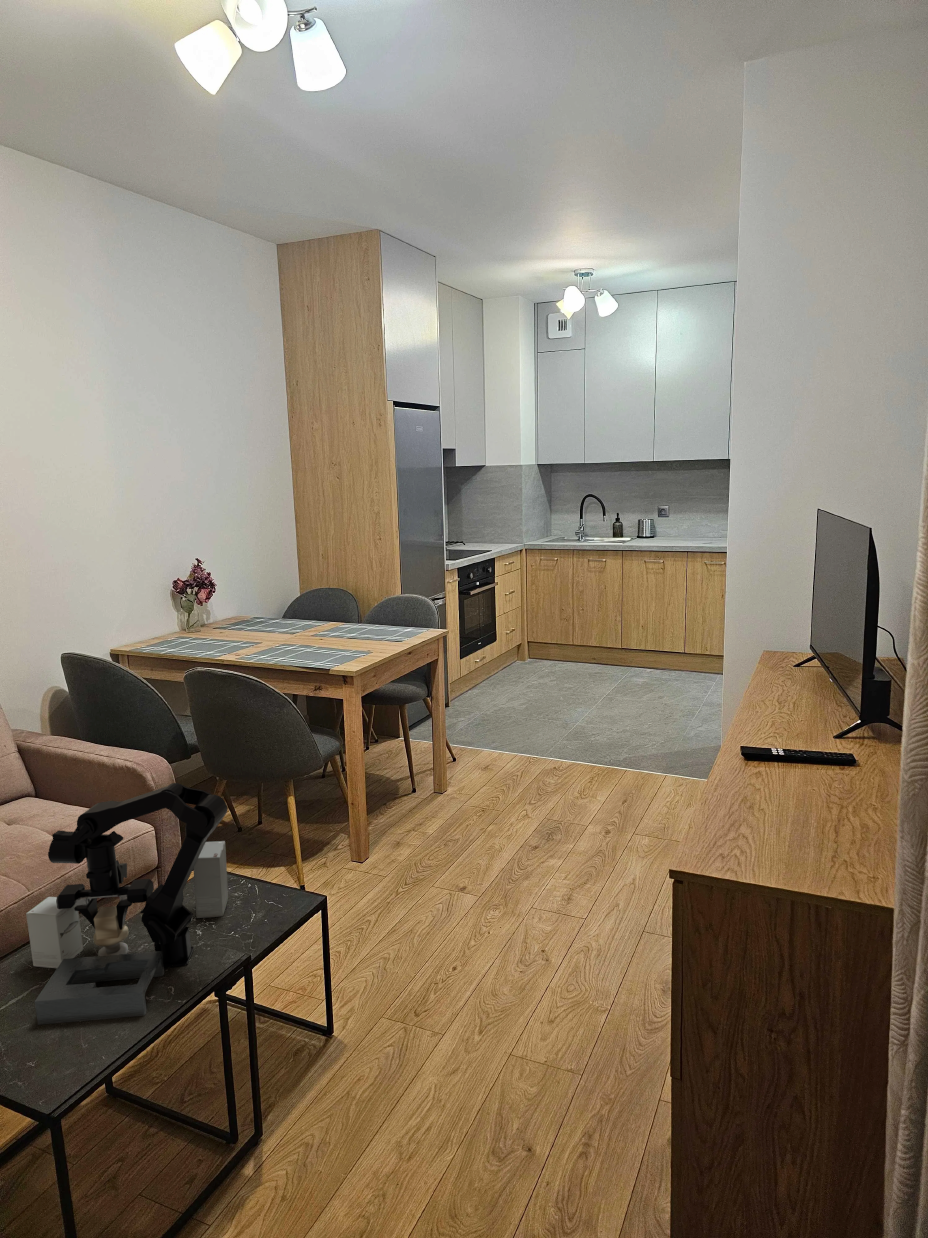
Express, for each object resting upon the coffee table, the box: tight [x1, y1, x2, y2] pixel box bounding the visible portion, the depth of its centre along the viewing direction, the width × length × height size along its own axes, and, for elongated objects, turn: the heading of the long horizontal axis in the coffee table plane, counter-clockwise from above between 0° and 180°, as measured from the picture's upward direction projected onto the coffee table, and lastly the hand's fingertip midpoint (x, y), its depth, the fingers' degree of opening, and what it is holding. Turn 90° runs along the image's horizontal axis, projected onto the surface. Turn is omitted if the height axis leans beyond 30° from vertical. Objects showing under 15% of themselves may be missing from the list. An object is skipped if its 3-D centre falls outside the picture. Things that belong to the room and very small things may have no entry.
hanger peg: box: [92, 905, 130, 956], centre depth 180 cm, size 7×7×10 cm
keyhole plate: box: [34, 950, 165, 1026], centre depth 166 cm, size 20×14×5 cm
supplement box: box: [25, 896, 84, 969], centre depth 180 cm, size 7×7×13 cm
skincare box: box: [192, 840, 229, 919], centre depth 197 cm, size 8×7×16 cm
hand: (110, 929), depth 180 cm, fingers closed on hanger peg, 4 cm apart
